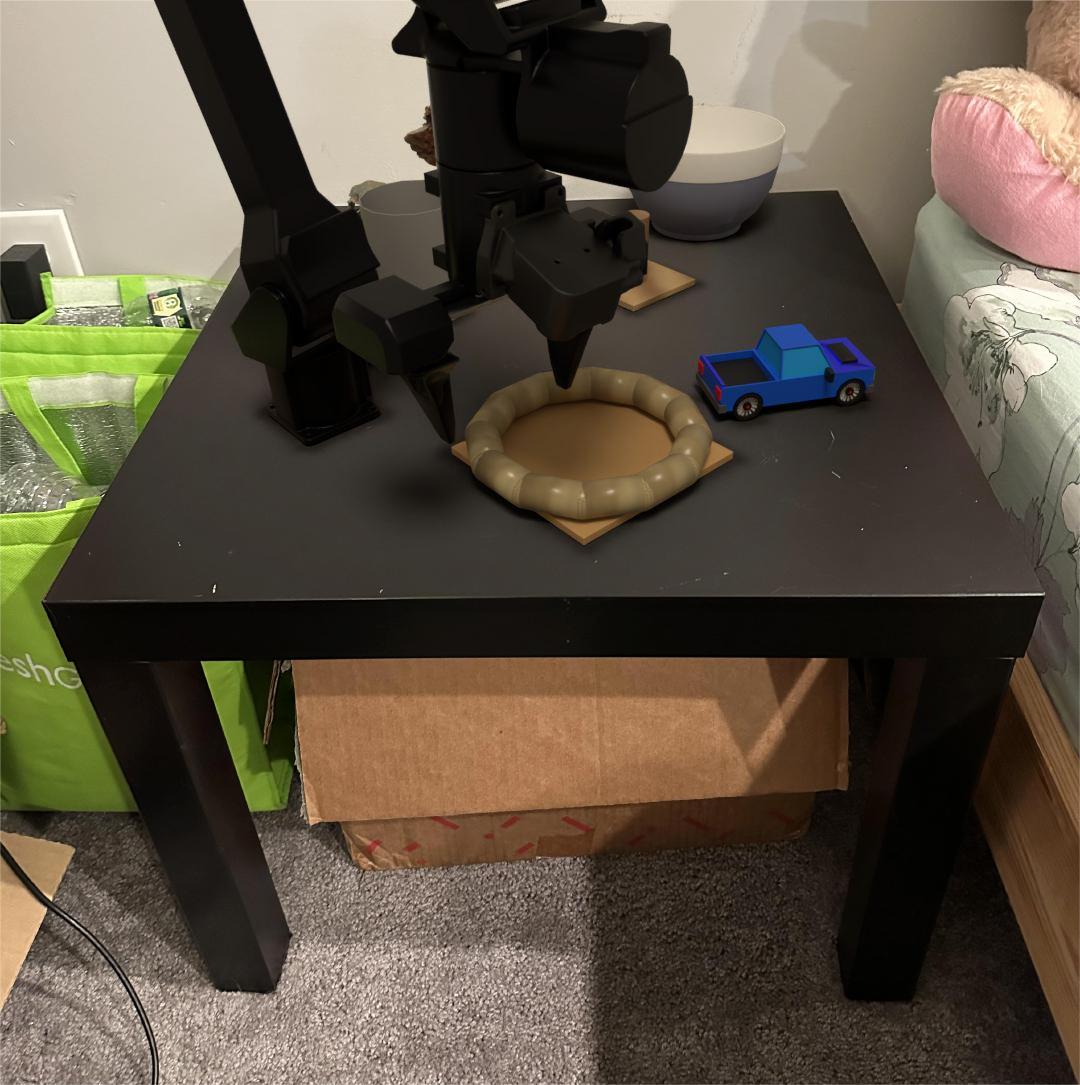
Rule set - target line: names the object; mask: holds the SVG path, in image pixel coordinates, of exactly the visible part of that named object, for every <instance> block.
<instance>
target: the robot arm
mask: <svg viewBox="0 0 1080 1085" xmlns="http://www.w3.org/2000/svg"><path fill="white" fill-rule="evenodd" d="M410 1H411V2H412V3H413V4H414V5H415V7H414V11H413V13H412V15H411V16H410V18H409V20H408V21H407V22H406V23H405V24H404V26H402V27H401V28H400V30H399V31H398V32H397V33H396V35H395V36H394V37H393V38H392V39H391V44H390V46H391V49H392V51H393V52H394V54H396V55H398V56H406V57H412V58H417V59H418V58H419V59H423V60H426V61H425V66H426V76H427V85H428V95H429V106H431V116H432V126H433V136H434V145H435V155H436V165H437V167H436V169H432V170H428V171H425V172H423V180H424V181H425V190H426V192H427V193H429V194H432V195H434V196H436V197H439V196H440V204H441V214H442V224H443V234H444V244H441V245H438V246H435V247H433V248H432V253H433V262H434V265H435V266H437V267H439V268H441V269H443V270H445V271H447V272H448V279H449V281H447V282H444V283H441V284H439V285H436V286H433V287H430V288H428V289H425V290H422V289H420V288H418V287H416V286H414V285H412V284H411V283H409V282H407V281H405V280H403V279H401V278H399V277H398V276H396V275H391V276H388V277H385V278H382V279H380V280H379V276H378V272H377V269H376V268H378V267H380V262H379V261H378V259H377V258H376V256H375V255H374V253H373V251H372V249H371V247H370V244H369V242H368V239H367V236H366V232H365V228H364V224H363V221H362V218H361V216H359V214H358V213H357V210H356V209H355V208H354V209H353V208H350V209H349V208H348V209H345V210H343V211H342V210H341V209H339V208H338V207H337V206H336V205H335V204H334V203H332V201H330V200H329V199H328V198H327V197H326V196H325V195H323V194H322V193H321V192H320V191H319V190H318V188H317V186H316V184H315V182H314V179H313V176H312V174H311V171H310V169H309V166H308V163H307V162H306V159H305V156H304V153H303V150H302V148H301V145H300V143H299V140H298V138H297V135H296V132H295V130H294V127H293V125H292V122H291V119H290V117H289V113H288V112H287V109H286V106H285V104H284V101H283V99H282V96H281V93H280V90H279V88H278V86H277V83H276V81H275V78H274V76H273V72H272V70H271V67H270V65H269V62H268V60H267V57H266V55H265V52H264V49H263V46H262V45H261V41H260V39H259V36H258V34H257V31H256V29H255V26H254V23H253V21H252V19H251V15H250V13H249V10H248V8H247V5H246V3H245V0H153V2H154V4H155V6H156V9H157V11H158V14H159V16H160V18H161V21H162V23H163V25H164V27H165V31H166V33H167V34H168V37H169V40H170V42H171V44H172V47H173V49H174V51H175V54H176V56H177V59H178V61H179V63H180V67H181V68H182V71H183V73H184V75H185V77H186V80H187V82H188V84H189V87H190V90H191V92H192V94H193V96H194V98H195V101H196V103H197V106H198V108H199V110H200V113H201V115H202V117H203V119H204V120H203V121H204V122H205V125H206V127H207V129H208V131H209V134H210V137H211V139H212V141H213V143H214V146H215V148H216V151H217V153H218V155H219V158H220V160H221V162H222V164H223V168H224V170H225V172H226V174H227V176H228V179H229V181H230V183H231V187H232V188H233V190H234V193H235V196H236V197H237V200H238V202H239V204H240V207H241V210H242V213H243V224H242V233H241V234H242V235H241V242H240V253H239V267H240V270H241V272H242V275H243V279H244V282H245V285H246V288H247V290H248V294H249V297H248V299H247V300H246V302H245V303H244V305H243V307H242V308H241V310H240V311H239V313H238V315H237V316H236V318H235V319H234V321H233V323H232V324H231V326H230V330H231V332H232V335H233V337H234V339H235V341H236V344H237V346H238V347H239V349H240V352H241V354H242V355H243V356H244V357H246V358H248V359H251V360H254V361H256V362H258V363H261V364H263V365H264V368H265V373H266V377H267V381H268V386H269V390H270V393H271V398H272V401H273V403H271V404H268V405H267V406H266V413H267V414H268V415H269V417H271V418H272V419H273V420H275V421H276V422H278V423H279V424H280V425H281V426H282V427H283V428H284V429H286V430H287V431H288V432H290V433H291V435H293V436H295V438H297V439H298V440H299V441H301V442H302V443H303V444H305V445H313V444H316V443H318V442H320V441H323V440H325V439H327V438H329V437H332V436H334V435H336V434H339V433H341V432H343V431H345V430H348V429H350V428H352V427H355V426H357V425H359V424H361V423H364V422H367V421H368V420H371V419H373V418H375V417H377V416H379V415H380V414H381V407H380V405H378V404H377V403H375V402H374V401H372V400H371V398H372V396H373V388H372V382H371V374H370V371H369V365H368V363H370V365H371V366H374V367H375V368H376V369H378V370H380V371H381V372H383V373H384V374H386V375H387V376H399V377H400V378H401V380H403V382H404V383H405V384H406V386H407V388H408V389H409V391H410V392H411V394H412V395H413V397H414V398H415V400H416V401H417V403H418V406H420V408H421V410H422V411H423V413H424V415H425V416H426V417H427V419H428V421H429V422H430V424H431V426H432V427H433V429H434V430H435V432H436V433H437V435H438V436H439V438H440V439H441V440H442V441H443V442H445V443H447V444H449V445H452V444H454V443H455V442H456V434H457V431H456V430H457V429H456V428H457V423H456V422H457V421H456V414H455V413H456V412H455V406H454V399H453V398H454V397H453V390H452V382H451V372H452V371H453V370H454V368H455V367H456V366H457V365H458V363H459V362H460V360H461V357H459V356H458V355H457V354H454V353H453V352H451V351H450V348H451V347H452V345H453V343H454V342H455V334H454V332H455V331H454V324H453V323H454V322H453V321H454V320H453V319H455V318H457V319H458V318H460V317H463V316H465V315H468V314H470V313H473V312H476V311H479V310H480V309H483V308H485V307H488V306H492V305H493V304H494V305H495V304H496V303H498V302H501V301H504V300H506V299H510V300H511V301H512V302H513V303H514V304H515V306H517V307H518V308H519V309H520V310H521V311H522V312H523V313H524V314H525V315H526V316H527V318H529V319H530V321H532V322H533V324H534V325H535V327H536V328H535V329H536V330H537V331H538V333H540V334H541V335H542V336H543V337H545V338H546V344H547V350H548V355H549V363H550V366H551V371H553V375H554V379H555V382H556V384H557V386H559V387H561V388H562V389H564V390H567V389H569V388H571V386H572V383H573V381H574V378H575V375H576V372H577V370H578V368H580V364H581V362H582V359H583V355H584V353H585V351H586V347H587V344H588V342H589V339H590V336H591V334H592V332H593V328H594V327H595V326H599V325H601V326H603V325H606V324H608V323H610V322H612V320H613V319H614V318H615V315H616V313H617V310H618V309H617V308H618V307H619V305H618V303H619V300H620V297H621V295H622V294H624V293H626V292H628V291H629V290H630V289H633V288H635V287H637V286H640V285H641V284H642V283H643V276H644V275H646V274H647V267H648V260H649V243H648V242H647V240H646V236H645V224H644V223H643V222H641V221H640V220H639V219H638V218H637V217H636V216H635V215H634V214H633V213H631V212H630V210H626V211H623V212H620V213H618V214H615V215H612V214H609V213H607V212H605V211H601V210H598V209H596V208H594V207H590V206H585V207H582V208H579V209H577V210H573V211H570V210H569V208H568V203H567V189H566V186H565V185H563V175H565V176H570V177H574V178H579V179H583V180H588V181H593V182H598V183H602V184H606V185H610V186H616V187H619V188H620V187H621V188H624V189H629V190H630V189H633V190H638V191H643V192H653V191H656V190H658V189H660V188H661V187H662V186H663V185H664V184H665V183H666V182H667V181H668V180H669V179H670V177H671V176H672V175H673V173H674V172H675V170H676V168H677V166H678V164H679V162H680V160H681V158H682V156H683V153H684V150H685V147H686V145H687V141H688V137H689V133H690V129H691V122H692V114H693V106H694V96H693V95H691V94H690V90H689V82H688V77H687V74H686V71H685V69H684V66H682V63H681V61H680V60H679V59H678V58H676V57H675V56H674V55H673V54H671V43H672V28H671V27H670V24H668V23H664V22H656V21H639V22H636V23H622V22H621V23H620V22H613V21H606V19H607V16H608V10H607V7H606V5H605V4H604V2H603V0H523V1H520V2H516V3H513V4H510V5H506V6H503V7H499V8H498V7H497V5H499V4H502V3H506V2H510V1H511V0H410ZM452 320H453V321H452ZM455 320H456V319H455Z"/></svg>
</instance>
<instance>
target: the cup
mask: <svg viewBox="0 0 1080 1085" xmlns="http://www.w3.org/2000/svg"><path fill="white" fill-rule="evenodd" d="M358 200H359V205H358V206H359V209H360V213H361V216H360V217H361V218H362V221H363V224H364V228H365V232H366V236H367V239H368V242H369V244H370V247H371V249H372V251H373V253H374V255H375V256H376V258H377V259H378V261H379V262H380V267H378V268H376V269H377V272H378V276H379V280H380V279H382V278H385V277H388V276H391V275H396V276H398V277H399V278H401V279H403V280H405V281H407V282H409V283H411V284H412V285H414V286H416V287H418V288H420V289H422V290H425V289H428V288H430V287H433V286H436V285H439V284H441V283H444V282H447V281H449V279H448V272H447V271H445V270H443V269H441V268H439V267H437V266H435V265H434V262H433V253H432V248H433V247H435V246H438V245H441V244H444V234H443V224H442V214H441V204H440V196H439V197H436V196H434V195H432V194H429V193H427V192H426V190H425V181H424V179H408V180H397V181H393V182H388V183H386V184H383V185H380V186H377V187H375V188H372V189H370V190H368V191H366V192H365V193H364V194H363V195H362V196H361V197H360V198H359V199H358ZM456 319H458V318H455V319H453V320H452V322H453V321H455V320H456Z"/></svg>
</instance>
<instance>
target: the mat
mask: <svg viewBox="0 0 1080 1085" xmlns="http://www.w3.org/2000/svg"><path fill="white" fill-rule="evenodd" d="M674 441H675V438H674V436H673V434H672V432H671V431H670V429H669V427H668V425H667V423H666V422H664V421H662V420H661V419H659V418H657V417H655V416H653V415H651V414H649V413H648V412H646V411H644V410H642V409H640V408H638V407H637V406H633V405H626V404H620V403H613V402H606V401H600V400H593V399H589V400H581V401H573V402H565V403H557V404H549V405H545V406H543V407H541V408H538V409H536V410H534V411H532V412H530V413H528V414H526V415H524V416H522V417H520V418H517V419H515V420H513V421H512V423H511V424H510V426H509V427H508V428H507V430H506V431H505V433H504V434H503V436H502V437H501V442H502V445H503V449H504V453H505V455H507V456H508V457H510V458H511V459H513V460H514V461H516V462H517V463H519V464H520V465H522V466H523V467H525V468H526V469H528V470H530V471H531V472H533V473H538V474H543V475H549V476H554V477H560V478H566V479H571V480H577V481H582V482H583V481H591V480H598V479H605V478H613V477H620V476H628V475H635V474H637V473H638V472H640V471H642V470H644V469H646V468H647V467H649V466H651V465H653V464H655V463H656V462H658V461H660V460H662V459H664V458H665V457H667V456H668V455H669V452H670V450H671V448H672V446H673V443H674ZM450 449H451V454H452V455H453V456H454V457H456V458H458V459H459V460H460V461H461V462H463V463H464V464H465V465H468V466H469V467H471V464H470V459H469V455H468V450H467V446H466V441H465V440H463V441H461V442H458V443H456V444H454V445H452V446H451V448H450ZM733 459H734V451H733V450H731V449H729V448H727V447H725V446H723V445H721V444H719V443H717V442H716V441H714V440H713V441H712V445H711V447H710V450H709V452H708V455H707V457H706V460H705V463H704V465H703V468H702V470H701V473H700V475H699V477H698V479H697V480H699V479H700V478H702V477H704V476H706V475H707V474H709V473H711V472H713V471H715V470H716V469H717V468H719V467H721V466H723V465H724V464H727V463H728V462H730V461H732V460H733ZM534 512H535V513H536V514H537V515H539V516H541V517H542V518H543V519H545V520H546V521H547V522H550V524H552V525H554V526H555V527H557V528H558V529H560V531H562V532H563V533H565V534H566V535H568V536H569V537H571V538H572V539H574V540H575V541H577V542H578V543H579V544H581V545H582V546H586V545H587V544H589V543H591V542H593V541H594V540H596V539H598V538H599V537H601V536H603V535H605V534H606V533H608V532H610V531H611V530H613V529H615V528H617V527H618V526H620V525H622V524H624V523H625V522H627V521H628V520H630V519H632V518H634V517H635V516H637V515H639V514H640V513H641V512H636V513H629V514H622V515H615V516H608V517H601V518H593V519H586V520H578V519H573V518H568V517H563V516H558V515H552V514H547V513H542V512H537V511H534Z"/></svg>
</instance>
